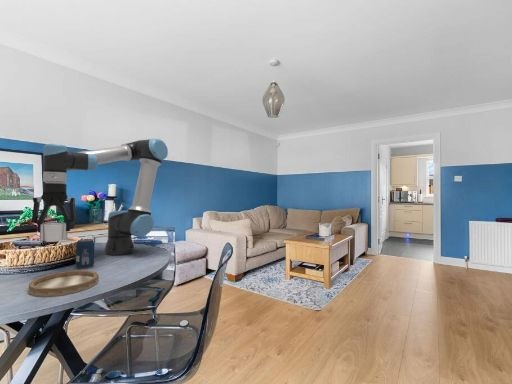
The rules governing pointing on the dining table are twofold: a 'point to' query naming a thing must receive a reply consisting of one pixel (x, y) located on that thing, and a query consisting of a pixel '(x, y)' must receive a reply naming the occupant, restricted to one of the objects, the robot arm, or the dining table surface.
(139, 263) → the dining table surface
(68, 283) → the round tray
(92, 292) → the dining table surface
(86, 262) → the dark blue box
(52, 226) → the shot glass
